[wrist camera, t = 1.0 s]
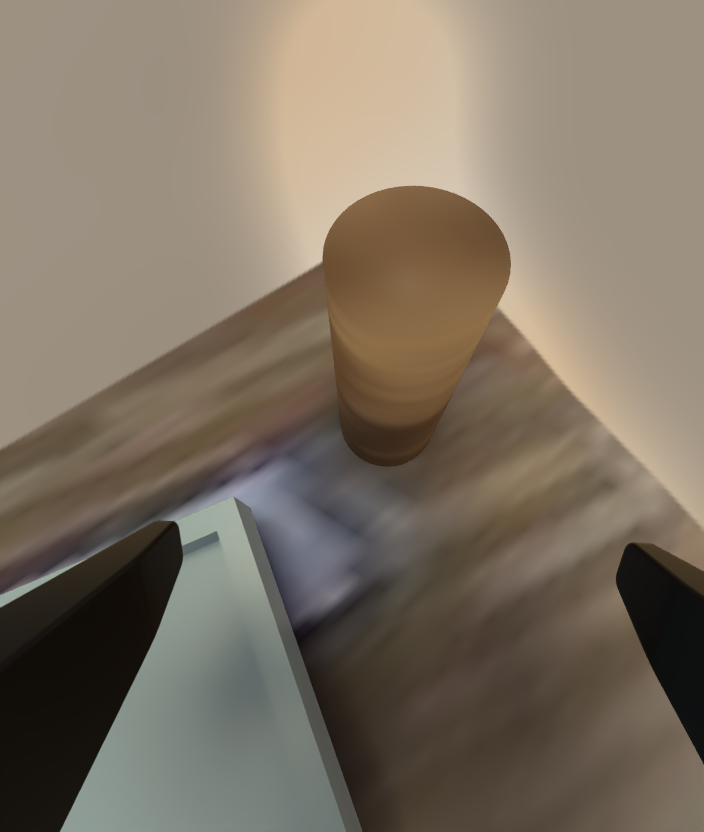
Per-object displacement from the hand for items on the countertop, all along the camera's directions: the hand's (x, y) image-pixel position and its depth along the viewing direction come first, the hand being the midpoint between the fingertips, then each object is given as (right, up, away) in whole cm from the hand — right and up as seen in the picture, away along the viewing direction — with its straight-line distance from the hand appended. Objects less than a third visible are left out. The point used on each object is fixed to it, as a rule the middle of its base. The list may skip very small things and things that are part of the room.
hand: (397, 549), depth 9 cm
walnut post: (+1, +2, +15) cm, 15 cm away
